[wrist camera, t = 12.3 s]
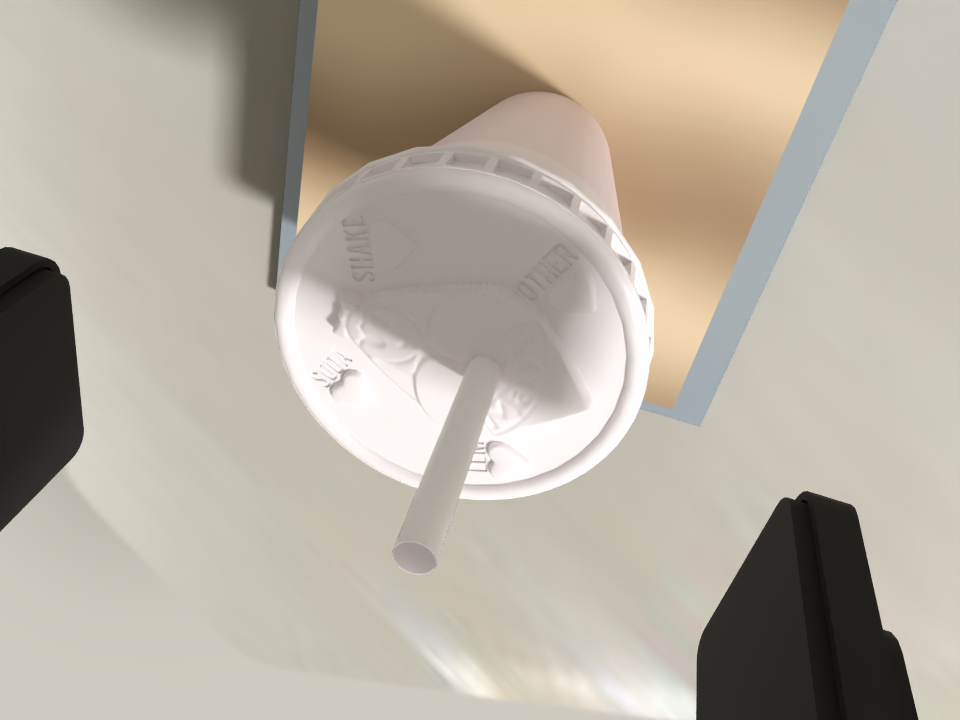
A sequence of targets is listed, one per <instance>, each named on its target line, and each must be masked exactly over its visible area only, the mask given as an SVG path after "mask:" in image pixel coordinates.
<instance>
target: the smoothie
mask: <svg viewBox="0 0 960 720" xmlns="http://www.w3.org/2000/svg"><path fill="white" fill-rule="evenodd" d="M274 321H275V331H276V337H277V342H278V347H279V351H280V354H281V357H282V361H283V364H284V366H285V369H286V371H287V374H288V376H289V378H290V380H291V382H292V384H293V386H294V388H295V390H296V392H297V394H298V395H299V397H300V398H301V400H302V401H303V403H304V405H305V406H306V408H307V409H308V410H309V412H310V413H311V414H312V415H313V417H314V418H315V419H316V421H317V422H318V423H319V424H320V425H321V426H322V427H323V428H324V429H325V431H326V432H327V433H328V434H329V435H330V436H331V437H333V438H334V439H335V440H336V441H337V442H338V443H339V444H340V445H341V446H343V447H344V448H345V449H346V450H347V451H349V452H350V453H351V454H352V455H354V456H355V457H357V458H358V459H360V460H361V461H362V462H364V463H365V464H367V465H369V466H370V467H372V468H374V469H375V470H377V471H379V472H380V473H382V474H385V475H387V476H389V477H391V478H393V479H395V480H397V481H399V482H402V483H404V484H406V485H409V486H411V487H415V488H418V489H417V491H416V494H415V496H414V499H413V501H412V504H411V506H410V509H409V511H408V513H407V516H406V518H405V521H404V523H403V526H402V528H401V531H400V533H399V535H398V538H397V540H396V543H395V545H394V548H393V550H392V557H393V560H394V562H395V563H396V565H397V566H398V567H400V568H401V569H402V570H404V571H406V572H408V573H411V574H415V575H424V574H428V573H430V572H432V571H433V570H434V569H435V567H436V564H437V561H438V558H439V555H440V553H441V550H442V547H443V544H444V541H445V538H446V535H447V532H448V529H449V526H450V523H451V520H452V517H453V514H454V511H455V508H456V505H457V502H458V500H459V498H463V499H473V500H499V499H511V498H518V497H524V496H529V495H533V494H538V493H541V492H544V491H547V490H550V489H553V488H556V487H558V486H561V485H563V484H565V483H568V482H570V481H571V480H573V479H575V478H577V477H579V476H581V475H582V474H584V473H585V472H587V471H588V470H590V469H591V468H593V467H594V466H595V465H597V464H598V463H599V462H600V461H601V460H602V459H604V458H605V457H606V456H607V455H608V454H609V453H610V452H611V451H612V450H613V449H614V448H615V447H616V446H617V445H618V443H619V442H620V441H621V439H622V438H623V437H624V435H625V434H626V433H627V431H628V429H629V428H630V426H631V424H632V423H633V421H634V419H635V417H636V415H637V413H638V410H639V408H640V406H641V403H642V400H643V397H644V394H645V391H646V386H647V381H648V375H649V365H650V362H651V359H652V356H653V353H654V306H653V303H652V299H651V296H650V293H649V289H648V286H647V283H646V279H645V276H644V273H643V269H642V266H641V263H640V261H639V259H638V257H637V256H636V254H635V253H634V251H633V250H632V248H631V247H630V245H629V244H628V242H627V240H626V239H625V237H624V236H623V232H622V226H621V220H620V214H619V208H618V201H617V195H616V189H615V183H614V176H613V170H612V164H611V158H610V152H609V147H608V143H607V140H606V137H605V135H604V133H603V131H602V129H601V127H600V125H599V124H598V122H597V121H596V120H595V118H594V117H593V116H592V115H591V114H590V113H589V112H588V111H587V110H586V109H585V108H584V107H582V106H581V105H579V104H578V103H577V102H575V101H573V100H571V99H569V98H567V97H565V96H562V95H559V94H556V93H551V92H543V91H533V92H525V93H520V94H517V95H514V96H511V97H509V98H507V99H505V100H503V101H501V102H500V103H498V104H497V105H495V106H493V107H492V108H490V109H489V110H487V111H486V112H484V113H482V114H481V115H479V116H478V117H476V118H475V119H473V120H471V121H470V122H468V123H467V124H465V125H464V126H462V127H461V128H459V129H457V130H456V131H454V132H453V133H451V134H450V135H448V136H446V137H445V138H443V139H442V140H440V141H439V142H437V143H435V144H434V145H432V146H428V147H415V148H412V149H409V150H406V151H403V152H400V153H396V154H393V155H390V156H387V157H384V158H381V159H378V160H375V161H372V162H369V163H368V164H366V165H365V166H363V167H362V168H360V169H359V170H358V171H356V172H355V173H353V174H352V175H351V176H349V177H348V178H346V179H345V180H343V181H342V182H341V183H339V184H338V185H336V186H335V187H334V188H332V189H331V190H330V191H329V192H328V194H327V195H326V196H325V198H324V199H323V200H322V202H321V203H320V204H319V206H318V207H317V208H316V210H315V211H314V212H313V214H312V215H311V216H310V218H309V219H308V220H307V222H306V223H305V224H304V226H303V227H302V228H301V230H300V231H299V233H298V234H297V236H296V237H295V239H294V240H293V242H292V244H291V246H290V248H289V250H288V252H287V254H286V256H285V258H284V261H283V264H282V266H281V269H280V272H279V276H278V281H277V285H276V292H275V301H274Z"/></svg>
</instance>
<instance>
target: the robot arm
mask: <svg viewBox="0 0 960 720" xmlns="http://www.w3.org/2000/svg"><path fill="white" fill-rule="evenodd" d="M83 435H84V427H83V417H82V407H81V396H80V386H79V376H78V366H77V355H76V345H75V335H74V325H73V314H72V304H71V294H70V285H69V281H68V279H67V278H66V277H65V276H64V275H62V274H61V273H60V269H59V267H58V265H57V264H56V262H54V261H52V260H51V259H48V258H45V257H42V256H38V255H35V254H32V253H29V252H25V251H22V250H19V249H16V248H12V247H4V248H2V249H0V531H1V530H2V529H3V528H4V527H5V526H6V525H7V524H8V523H9V522H10V521H11V520H12V519H13V518H14V517H15V516H16V515H17V514H18V513H19V512H20V511H21V510H22V509H23V508H24V507H25V506H26V505H27V504H28V503H29V502H30V501H31V500H32V499H33V498H34V497H35V496H36V495H37V494H38V493H39V492H40V491H41V490H42V489H43V488H44V486H46V485H47V484H48V482H49V481H50V480H51V479H52V478H53V477H54V476H55V475H56V474H57V473H58V472H59V471H60V470H61V469H62V468H63V467H64V466H65V465H66V464H67V463H68V462H69V461H70V460H71V459H72V458H73V457H74V456H75V454H76V453H77V451H78V449H79V448H80V445H81V443H82V439H83ZM696 720H918V716H917V712H916V708H915V704H914V699H913V695H912V691H911V687H910V683H909V678H908V674H907V670H906V666H905V662H904V657H903V653H902V650H901V648H900V645H899V642H898V640H897V639H896V637H895V636H894V635H893V634H892V633H891V632H889V631H886V630H883V628H882V624H881V619H880V615H879V610H878V606H877V601H876V596H875V592H874V587H873V583H872V578H871V574H870V569H869V565H868V560H867V556H866V551H865V547H864V542H863V538H862V533H861V528H860V524H859V519H858V515H857V512H856V509H855V508H854V507H853V506H852V505H851V504H847V503H844V502H841V501H837V500H834V499H831V498H828V497H824V496H821V495H818V494H815V493H811V492H808V491H805V492H802V493H801V494H800V495H799V496H798V497H797V498H796V500H793V499H790V498H783V499H782V500H781V501H780V502H779V503H778V505H777V506H776V508H775V510H774V512H773V513H772V515H771V517H770V518H769V520H768V522H767V523H766V525H765V527H764V529H763V530H762V532H761V534H760V535H759V537H758V539H757V540H756V542H755V544H754V546H753V547H752V549H751V551H750V552H749V554H748V556H747V558H746V559H745V561H744V563H743V564H742V566H741V568H740V569H739V571H738V573H737V575H736V576H735V578H734V580H733V581H732V583H731V585H730V587H729V588H728V590H727V592H726V593H725V595H724V597H723V598H722V600H721V602H720V604H719V605H718V607H717V609H716V610H715V612H714V614H713V615H712V617H711V619H710V621H709V622H708V624H707V626H706V627H705V629H704V631H703V633H702V636H701V639H700V643H699V647H698V653H697V706H696Z"/></svg>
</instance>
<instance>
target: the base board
mask: <svg viewBox="0 0 960 720" xmlns="http://www.w3.org/2000/svg"><path fill="white" fill-rule="evenodd" d="M897 1H898V0H849V3H848V5H847V7H846V10H845V12H844V14H843V17H842V19H841V21H840V24H839V26H838V28H837V31H836V33H835V35H834V37H833V40H832V42H831V44H830V47H829V49H828V51H827V54H826V56H825V58H824V61H823V63H822V65H821V67H820V70H819V72H818V74H817V77H816V79H815V81H814V84H813V86H812V88H811V91H810V93H809V95H808V97H807V100H806V102H805V104H804V107H803V109H802V111H801V114H800V116H799V118H798V121H797V123H796V125H795V127H794V130H793V132H792V134H791V137H790V139H789V141H788V144H787V146H786V148H785V151H784V153H783V155H782V158H781V160H780V162H779V164H778V167H777V169H776V171H775V174H774V176H773V178H772V181H771V183H770V185H769V188H768V190H767V192H766V194H765V197H764V199H763V201H762V204H761V206H760V208H759V211H758V213H757V215H756V218H755V220H754V222H753V224H752V227H751V229H750V231H749V234H748V236H747V238H746V241H745V243H744V245H743V248H742V250H741V252H740V254H739V257H738V259H737V261H736V264H735V266H734V268H733V271H732V273H731V275H730V278H729V280H728V282H727V284H726V287H725V289H724V291H723V294H722V296H721V298H720V301H719V303H718V305H717V308H716V310H715V312H714V315H713V317H712V319H711V321H710V324H709V326H708V328H707V331H706V333H705V335H704V338H703V340H702V342H701V345H700V347H699V349H698V351H697V354H696V356H695V358H694V361H693V363H692V365H691V368H690V370H689V372H688V375H687V377H686V379H685V381H684V384H683V386H682V388H681V391H680V393H679V395H678V398H677V400H676V402H675V405H674V407H673V409H670V408H667V407H663V406H660V405H657V404H653V403H650V402H646V401H643V400H642V403H641V406H640V408H639V409H642V410H646V411H649V412H652V413H656V414H659V415H663V416H666V417H669V418H673V419H676V420H679V421H683V422H686V423H690V424H693V425H696V426H700V425H701V423H702V421H703V419H704V417H705V415H706V412H707V410H708V408H709V406H710V404H711V402H712V399H713V397H714V395H715V393H716V391H717V389H718V387H719V384H720V382H721V380H722V378H723V376H724V374H725V371H726V369H727V367H728V365H729V363H730V361H731V359H732V356H733V354H734V352H735V350H736V348H737V346H738V343H739V341H740V339H741V337H742V335H743V333H744V330H745V328H746V326H747V324H748V322H749V320H750V318H751V315H752V313H753V311H754V309H755V307H756V305H757V302H758V300H759V298H760V296H761V294H762V292H763V290H764V287H765V285H766V283H767V281H768V279H769V277H770V274H771V272H772V270H773V268H774V266H775V264H776V261H777V259H778V257H779V255H780V253H781V251H782V249H783V246H784V244H785V242H786V240H787V238H788V236H789V233H790V231H791V229H792V227H793V225H794V223H795V221H796V218H797V216H798V214H799V212H800V210H801V208H802V205H803V203H804V201H805V199H806V197H807V195H808V192H809V190H810V188H811V186H812V184H813V182H814V180H815V177H816V175H817V173H818V171H819V169H820V167H821V164H822V162H823V160H824V158H825V156H826V154H827V152H828V149H829V147H830V145H831V143H832V141H833V139H834V136H835V134H836V132H837V130H838V128H839V126H840V123H841V121H842V119H843V117H844V115H845V113H846V111H847V108H848V106H849V104H850V102H851V100H852V98H853V95H854V93H855V91H856V89H857V87H858V85H859V83H860V80H861V78H862V76H863V74H864V72H865V70H866V67H867V65H868V63H869V61H870V59H871V57H872V54H873V52H874V50H875V48H876V46H877V44H878V42H879V39H880V37H881V35H882V33H883V31H884V29H885V26H886V24H887V22H888V20H889V18H890V16H891V14H892V11H893V9H894V7H895V5H896V3H897ZM317 8H318V0H300V4H299V16H298V28H297V41H296V53H295V65H294V77H293V89H292V102H291V114H290V126H289V138H288V150H287V162H286V175H285V187H284V199H283V211H282V223H281V236H280V248H279V260H278V272H277V281H278V276H279V272H280V269H281V266H282V264H283V261H284V258H285V256H286V254H287V252H288V250H289V248H290V246H291V244H292V242H293V240H294V239H295V237H296V232H297V222H298V211H299V200H300V190H301V179H302V168H303V158H304V147H305V136H306V126H307V115H308V104H309V94H310V83H311V72H312V62H313V51H314V40H315V30H316V19H317ZM276 285H277V284H276Z"/></svg>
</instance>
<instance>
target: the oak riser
mask: <svg viewBox="0 0 960 720" xmlns="http://www.w3.org/2000/svg"><path fill="white" fill-rule="evenodd" d="M848 3H849V0H318V8H317V19H316V30H315V40H314V51H313V62H312V72H311V83H310V94H309V104H308V115H307V126H306V136H305V147H304V158H303V168H302V179H301V190H300V200H299V211H298V222H297V232H296V236H297V234H298V233H299V231H300V230H301V228H302V227H303V226H304V224H305V223H306V222H307V220H308V219H309V218H310V216H311V215H312V214H313V212H314V211H315V210H316V208H317V207H318V206H319V204H320V203H321V202H322V200H323V199H324V198H325V196H326V195H327V194H328V192H329V191H330V190H331V189H332V188H334V187H335V186H336V185H338V184H339V183H341V182H342V181H343V180H345V179H346V178H348V177H349V176H351V175H352V174H353V173H355V172H356V171H358V170H359V169H360V168H362V167H363V166H365V165H366V164H368V163H369V162H372V161H375V160H378V159H381V158H384V157H387V156H390V155H393V154H396V153H400V152H403V151H406V150H409V149H412V148H415V147H428V146H432V145H434V144H435V143H437V142H439V141H440V140H442V139H443V138H445V137H446V136H448V135H450V134H451V133H453V132H454V131H456V130H457V129H459V128H461V127H462V126H464V125H465V124H467V123H468V122H470V121H471V120H473V119H475V118H476V117H478V116H479V115H481V114H482V113H484V112H486V111H487V110H489V109H490V108H492V107H493V106H495V105H497V104H498V103H500V102H501V101H503V100H505V99H507V98H509V97H511V96H514V95H517V94H520V93H525V92H533V91H543V92H551V93H556V94H559V95H562V96H565V97H567V98H569V99H571V100H573V101H575V102H577V103H578V104H579V105H581V106H582V107H584V108H585V109H586V110H587V111H588V112H589V113H590V114H591V115H592V116H593V117H594V118H595V120H596V121H597V122H598V124H599V125H600V127H601V129H602V131H603V133H604V135H605V137H606V140H607V143H608V147H609V152H610V158H611V164H612V170H613V176H614V183H615V189H616V195H617V201H618V208H619V214H620V220H621V226H622V232H623V236H624V237H625V239H626V240H627V242H628V244H629V245H630V247H631V248H632V250H633V251H634V253H635V254H636V256H637V257H638V259H639V261H640V263H641V266H642V269H643V273H644V276H645V279H646V283H647V286H648V289H649V293H650V296H651V299H652V303H653V306H654V353H653V356H652V359H651V362H650V365H649V375H648V381H647V386H646V391H645V394H644V397H643V401H646V402H650V403H653V404H657V405H660V406H663V407H667V408H670V409H673V407H674V405H675V402H676V400H677V398H678V395H679V393H680V391H681V388H682V386H683V384H684V381H685V379H686V377H687V375H688V372H689V370H690V368H691V365H692V363H693V361H694V358H695V356H696V354H697V351H698V349H699V347H700V345H701V342H702V340H703V338H704V335H705V333H706V331H707V328H708V326H709V324H710V321H711V319H712V317H713V315H714V312H715V310H716V308H717V305H718V303H719V301H720V298H721V296H722V294H723V291H724V289H725V287H726V284H727V282H728V280H729V278H730V275H731V273H732V271H733V268H734V266H735V264H736V261H737V259H738V257H739V254H740V252H741V250H742V248H743V245H744V243H745V241H746V238H747V236H748V234H749V231H750V229H751V227H752V224H753V222H754V220H755V218H756V215H757V213H758V211H759V208H760V206H761V204H762V201H763V199H764V197H765V194H766V192H767V190H768V188H769V185H770V183H771V181H772V178H773V176H774V174H775V171H776V169H777V167H778V164H779V162H780V160H781V158H782V155H783V153H784V151H785V148H786V146H787V144H788V141H789V139H790V137H791V134H792V132H793V130H794V127H795V125H796V123H797V121H798V118H799V116H800V114H801V111H802V109H803V107H804V104H805V102H806V100H807V97H808V95H809V93H810V91H811V88H812V86H813V84H814V81H815V79H816V77H817V74H818V72H819V70H820V67H821V65H822V63H823V61H824V58H825V56H826V54H827V51H828V49H829V47H830V44H831V42H832V40H833V37H834V35H835V33H836V31H837V28H838V26H839V24H840V21H841V19H842V17H843V14H844V12H845V10H846V7H847V5H848Z"/></svg>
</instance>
